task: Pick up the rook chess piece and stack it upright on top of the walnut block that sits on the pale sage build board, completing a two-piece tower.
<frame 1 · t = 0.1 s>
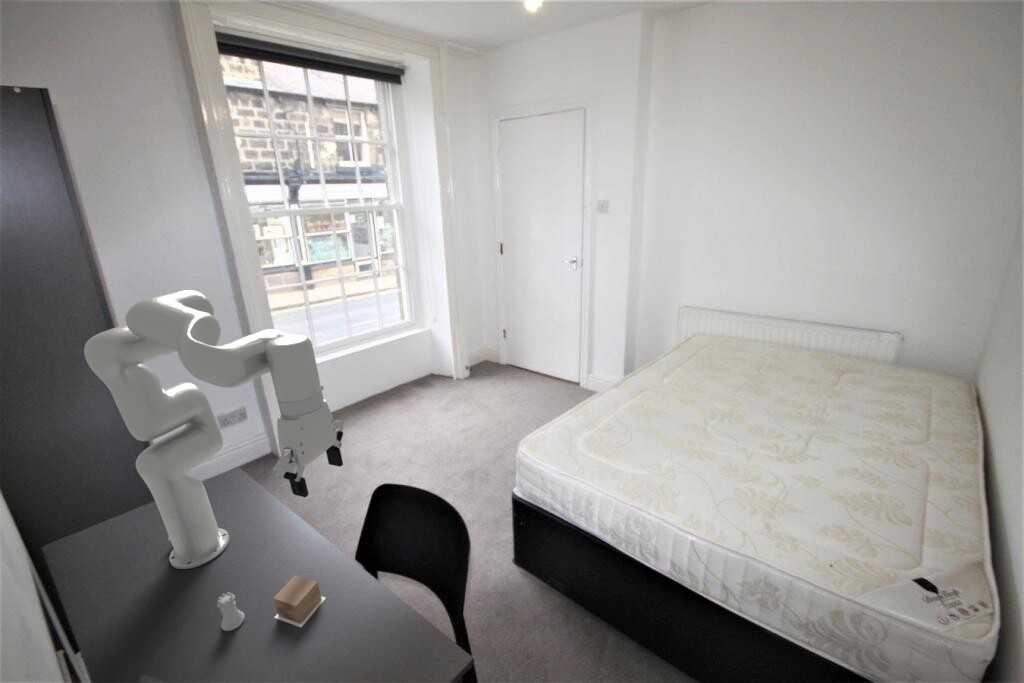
hand: (319, 479, 89), 31 cm above the table, fingers open, 9 cm apart
rook chess piece: (235, 626, 94), on the table
walnut block: (300, 607, 96), point 1 cm above the table, touching build board
build board: (297, 609, 97), on the table
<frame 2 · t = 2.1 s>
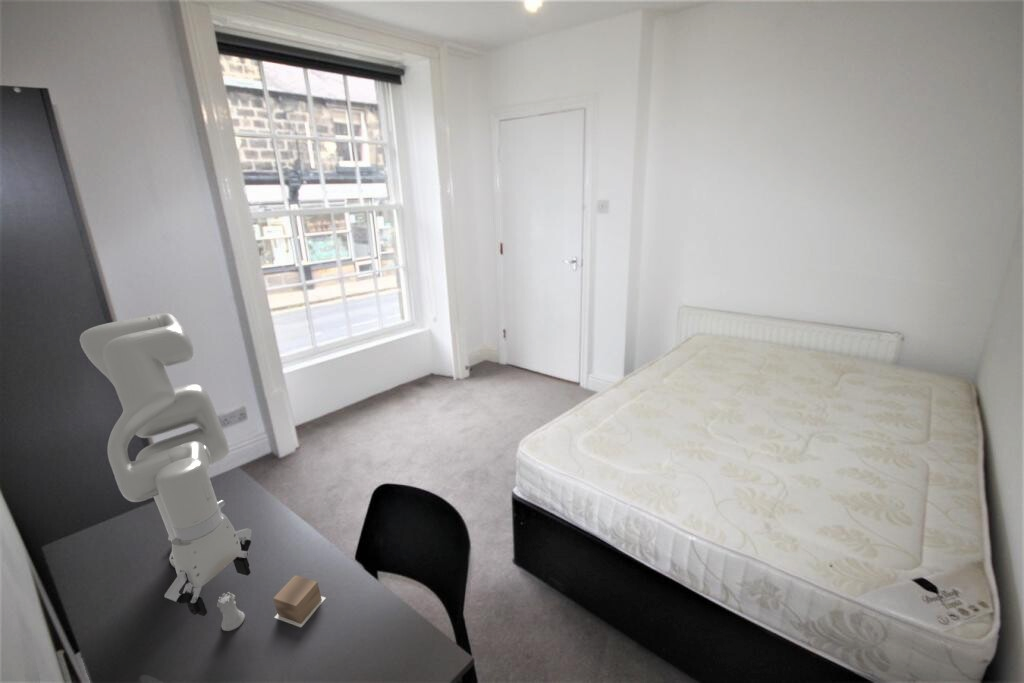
hand: (223, 592, 90), 10 cm above the table, fingers open, 9 cm apart
nothing on the table moved.
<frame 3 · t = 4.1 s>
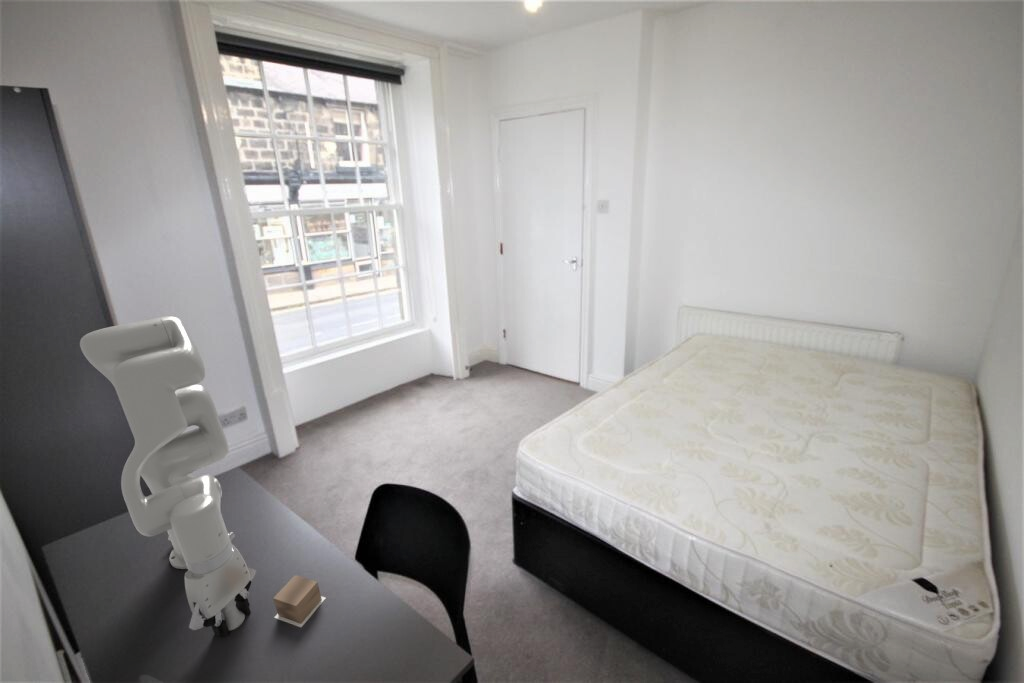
hand: (233, 622, 94), 1 cm above the table, fingers closed on rook chess piece, 4 cm apart
rook chess piece: (235, 626, 94), on the table, touching gripper
everything else where it was.
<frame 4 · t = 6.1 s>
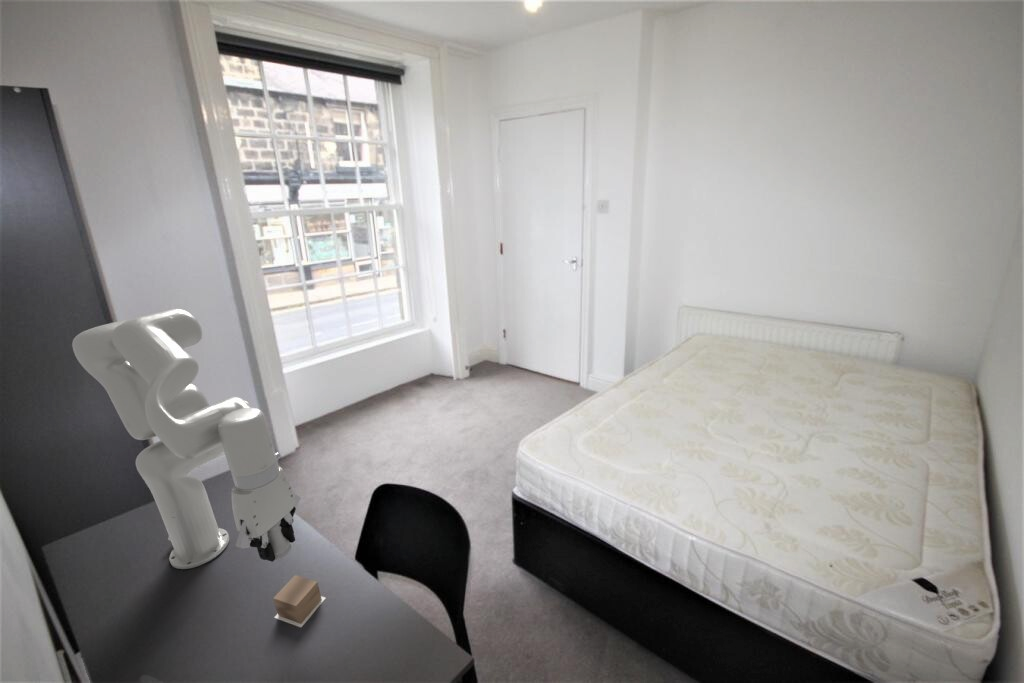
hand: (278, 548, 90), 18 cm above the table, fingers closed on rook chess piece, 4 cm apart
rook chess piece: (279, 553, 90), point 16 cm above the table, touching gripper
everything else where it was.
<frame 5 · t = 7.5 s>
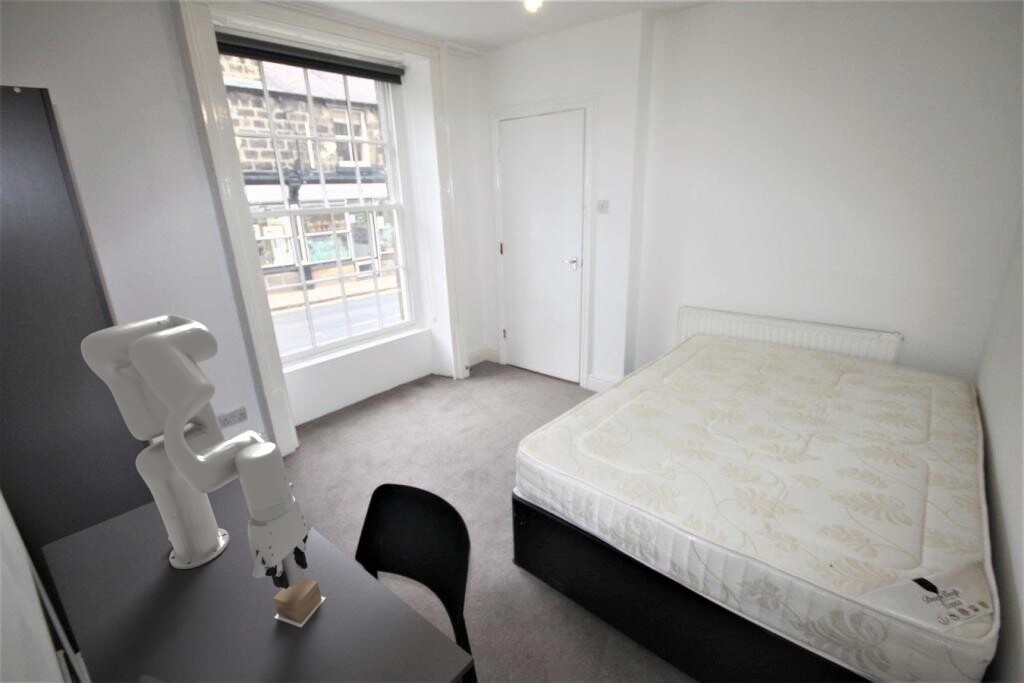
hand: (291, 575, 93), 10 cm above the table, fingers closed on rook chess piece, 4 cm apart
rook chess piece: (293, 579, 93), point 9 cm above the table, touching gripper
everything else where it was.
when the fingers open (8 cm above the table, at t = 8.6 s): rook chess piece drops 1 cm, resting on walnut block.
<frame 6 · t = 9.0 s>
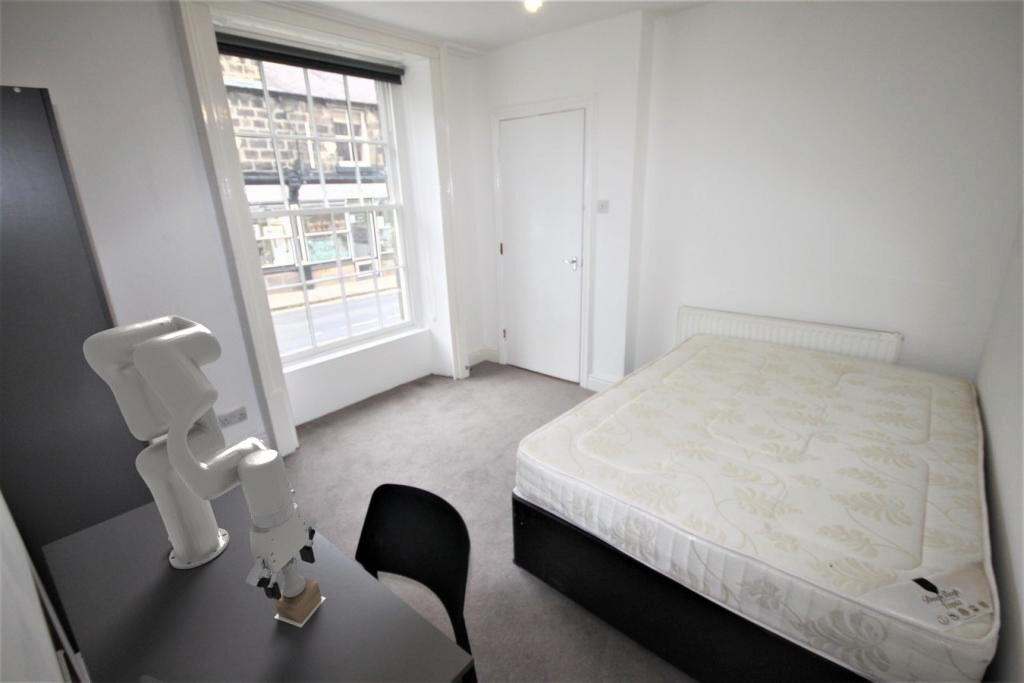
hand: (292, 578, 93), 9 cm above the table, fingers open, 8 cm apart
rook chess piece: (294, 590, 94), point 6 cm above the table, touching walnut block
walnut block: (300, 607, 96), point 1 cm above the table, touching build board, rook chess piece
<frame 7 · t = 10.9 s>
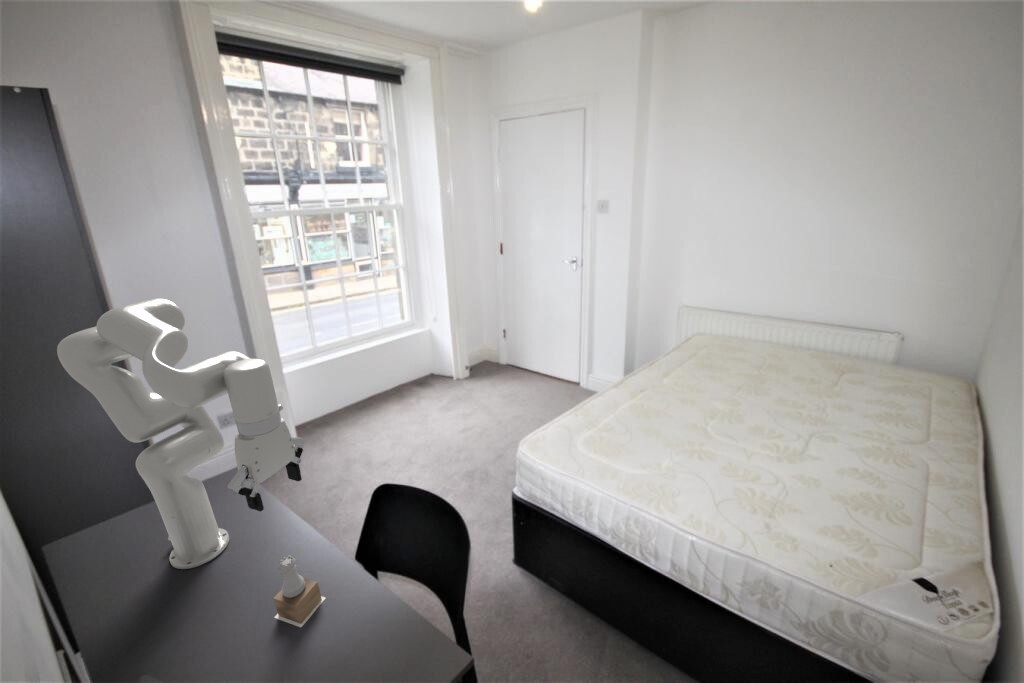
hand: (276, 493, 93), 26 cm above the table, fingers open, 9 cm apart
nothing on the table moved.
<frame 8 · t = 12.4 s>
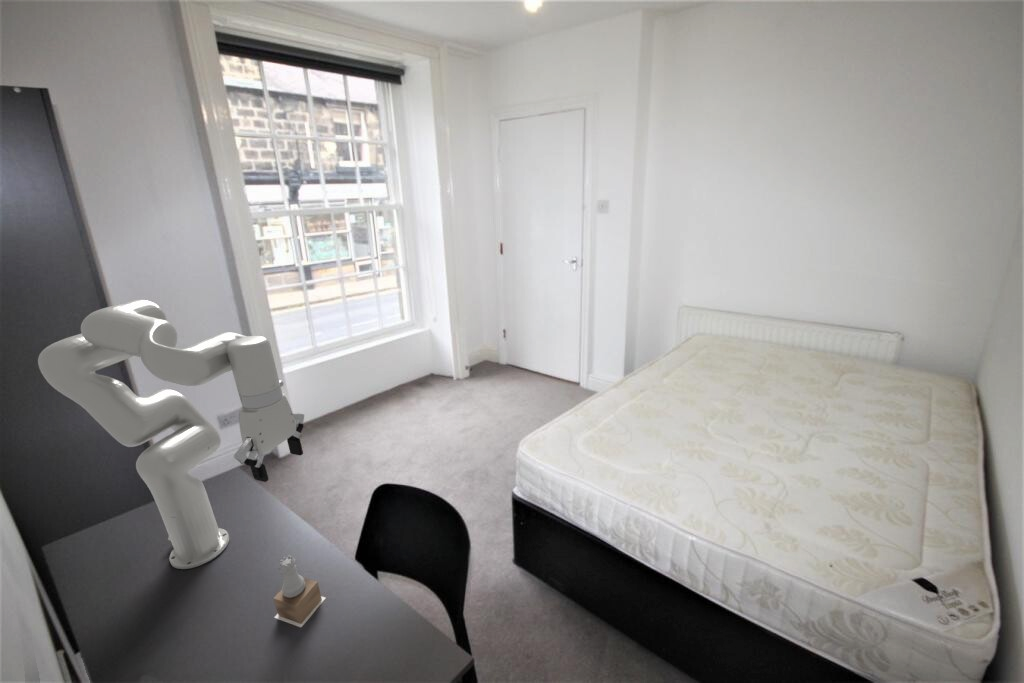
hand: (280, 466, 98), 28 cm above the table, fingers open, 9 cm apart
nothing on the table moved.
at the end: rook chess piece 0.3 cm off-centre on the walnut block, point 4.8 cm above the walnut block's base; rook chess piece tilted 0°; walnut block moved 0.0 cm from its start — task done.
